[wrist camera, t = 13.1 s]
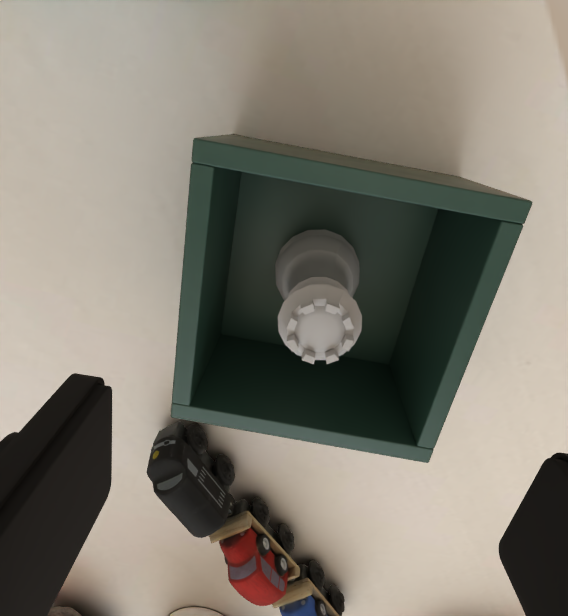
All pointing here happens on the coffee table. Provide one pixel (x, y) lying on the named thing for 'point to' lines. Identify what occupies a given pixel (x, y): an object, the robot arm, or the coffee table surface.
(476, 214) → the bin
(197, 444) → the toy train
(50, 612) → the stone
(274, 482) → the coffee table surface
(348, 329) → the rook chess piece
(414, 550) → the coffee table surface
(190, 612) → the mug
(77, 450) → the robot arm
